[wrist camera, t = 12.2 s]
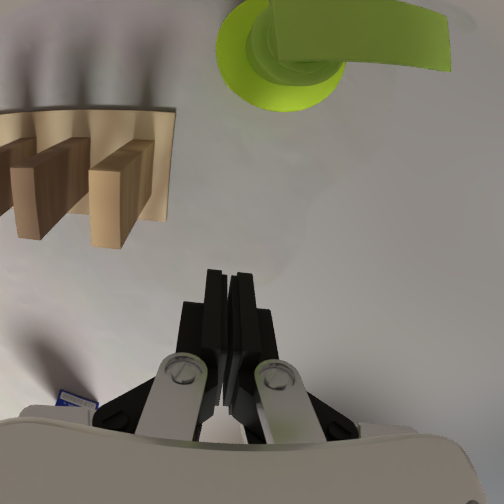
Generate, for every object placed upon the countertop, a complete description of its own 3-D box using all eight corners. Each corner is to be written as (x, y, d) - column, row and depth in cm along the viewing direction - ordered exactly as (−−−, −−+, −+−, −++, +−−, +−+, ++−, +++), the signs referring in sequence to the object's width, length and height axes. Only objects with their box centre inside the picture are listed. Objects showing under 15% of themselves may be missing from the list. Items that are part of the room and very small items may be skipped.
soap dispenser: (306, 96, 25) (460, 138, 8) (224, 102, 25) (222, 147, 7) (300, 31, 22) (446, -42, 5) (216, 37, 22) (197, -68, 5)
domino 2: (72, 189, 27) (18, 237, 18) (71, 137, 24) (10, 167, 16) (90, 190, 27) (40, 240, 18) (90, 137, 25) (33, 168, 16)
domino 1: (23, 186, 26) (-36, 231, 17) (21, 137, 23) (-46, 168, 15) (38, 187, 26) (-20, 233, 17) (36, 137, 24) (-29, 168, 15)
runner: (-50, 202, 25) (-52, 204, 25) (-57, 122, 21) (-59, 123, 20) (166, 220, 30) (165, 222, 29) (175, 112, 25) (175, 113, 24)
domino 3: (130, 193, 28) (91, 246, 19) (132, 139, 25) (88, 170, 16) (151, 195, 28) (120, 249, 19) (155, 140, 25) (120, 171, 17)
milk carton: (61, 407, 44) (35, 504, 27) (59, 388, 42) (28, 495, 24) (97, 421, 46) (78, 520, 29) (100, 403, 43) (77, 513, 26)
